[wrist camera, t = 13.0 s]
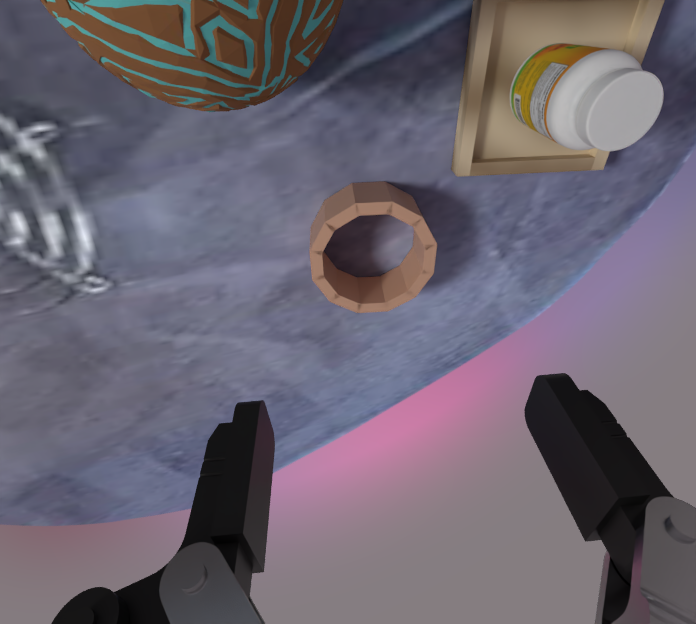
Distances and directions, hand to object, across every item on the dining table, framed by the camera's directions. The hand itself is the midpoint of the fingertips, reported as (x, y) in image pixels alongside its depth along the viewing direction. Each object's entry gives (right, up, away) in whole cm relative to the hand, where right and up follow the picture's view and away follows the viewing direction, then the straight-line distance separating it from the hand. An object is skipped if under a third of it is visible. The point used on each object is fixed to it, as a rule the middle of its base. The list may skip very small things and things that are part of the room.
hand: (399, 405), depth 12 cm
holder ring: (0, +10, +25) cm, 27 cm away
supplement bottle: (+13, +20, +17) cm, 29 cm away
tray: (+13, +20, +18) cm, 30 cm away
